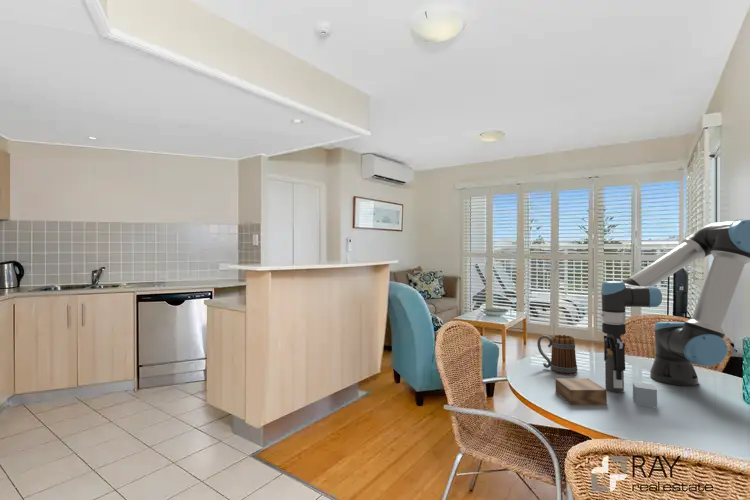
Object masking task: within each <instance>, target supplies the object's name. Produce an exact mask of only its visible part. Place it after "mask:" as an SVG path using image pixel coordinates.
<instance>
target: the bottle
mask: <svg viewBox="0 0 750 500" xmlns="http://www.w3.org/2000/svg"><path fill="white" fill-rule="evenodd" d="M607 352H608V353H606V356H607V357H608V359H606V360H605V361H604V363H605V364H604V365H605V366H604V369H605V371H604V372H605V373H604V375H605V377H604V378H605V379H604V380H605V389H606V390H607V391H609V392H612V393H623V392H625V391H624V390H625V385H624V384H625V377H624V374H625V373H624V372H625V371H624V370H623V371H622V381H623V388H614V380H613V370H612V369H614V360H613V352H612V351H611V348H608V349H607Z"/></svg>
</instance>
